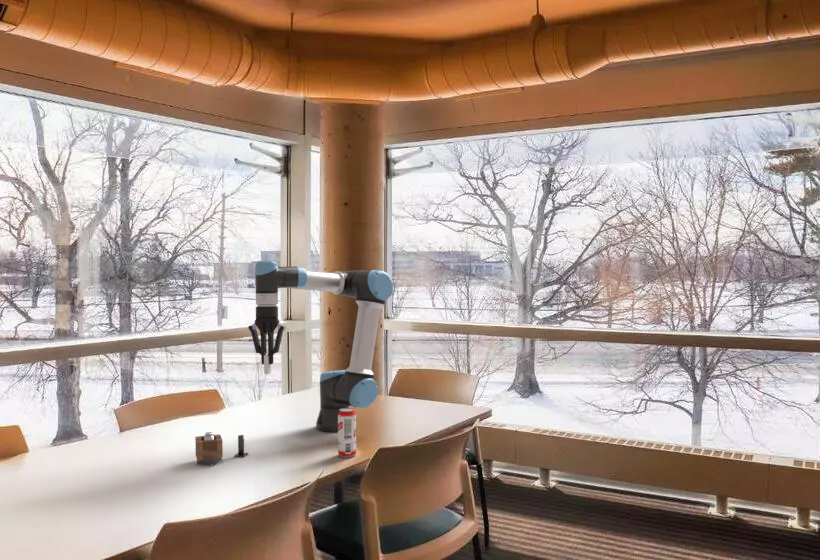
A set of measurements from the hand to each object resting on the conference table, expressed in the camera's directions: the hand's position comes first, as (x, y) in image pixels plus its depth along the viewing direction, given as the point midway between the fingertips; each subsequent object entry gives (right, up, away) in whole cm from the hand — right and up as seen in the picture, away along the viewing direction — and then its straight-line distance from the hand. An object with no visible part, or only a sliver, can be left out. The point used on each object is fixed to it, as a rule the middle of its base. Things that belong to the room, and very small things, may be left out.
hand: (267, 373), depth 226 cm
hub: (-18, -29, -7) cm, 35 cm away
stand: (-9, -29, 0) cm, 30 cm away
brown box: (-18, -27, -7) cm, 33 cm away
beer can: (+28, -29, -1) cm, 40 cm away
